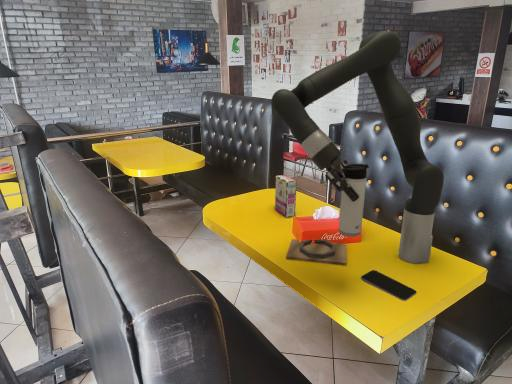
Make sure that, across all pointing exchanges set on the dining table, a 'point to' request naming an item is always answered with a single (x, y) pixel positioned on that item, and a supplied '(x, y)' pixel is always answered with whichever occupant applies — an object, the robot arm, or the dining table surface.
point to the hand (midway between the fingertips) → (359, 195)
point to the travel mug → (348, 209)
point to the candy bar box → (285, 195)
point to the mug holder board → (318, 251)
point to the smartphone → (388, 285)
